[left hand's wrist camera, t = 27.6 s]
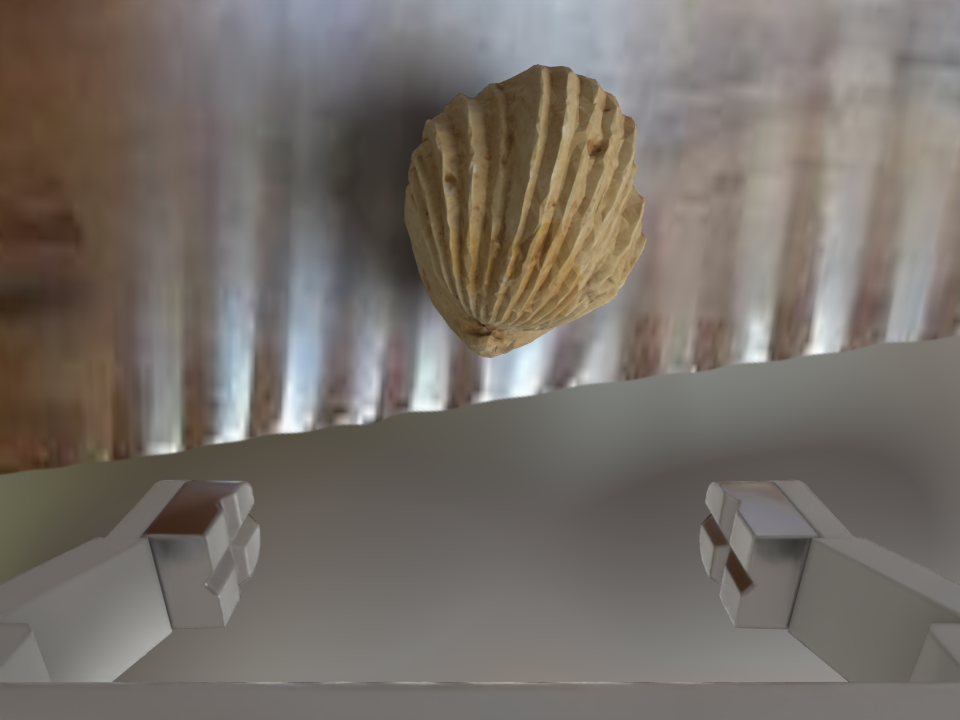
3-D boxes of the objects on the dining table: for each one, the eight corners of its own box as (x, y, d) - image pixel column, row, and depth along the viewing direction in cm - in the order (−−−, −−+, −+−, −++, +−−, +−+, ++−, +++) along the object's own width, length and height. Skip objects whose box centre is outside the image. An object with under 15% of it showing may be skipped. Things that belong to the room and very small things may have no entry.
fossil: (382, 290, 44) (336, 366, 30) (445, 41, 38) (424, -7, 24) (570, 345, 46) (609, 442, 32) (660, 116, 39) (757, 112, 26)
